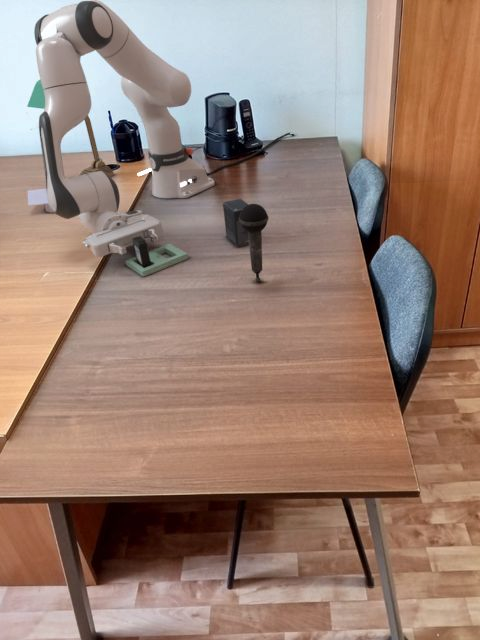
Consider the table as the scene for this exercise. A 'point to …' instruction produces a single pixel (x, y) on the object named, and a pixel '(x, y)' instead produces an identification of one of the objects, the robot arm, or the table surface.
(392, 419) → the table surface
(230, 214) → the box
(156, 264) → the holder
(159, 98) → the robot arm
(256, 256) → the microphone
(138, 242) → the ink cartridge
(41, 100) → the banker's lamp
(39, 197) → the wedge on round base
